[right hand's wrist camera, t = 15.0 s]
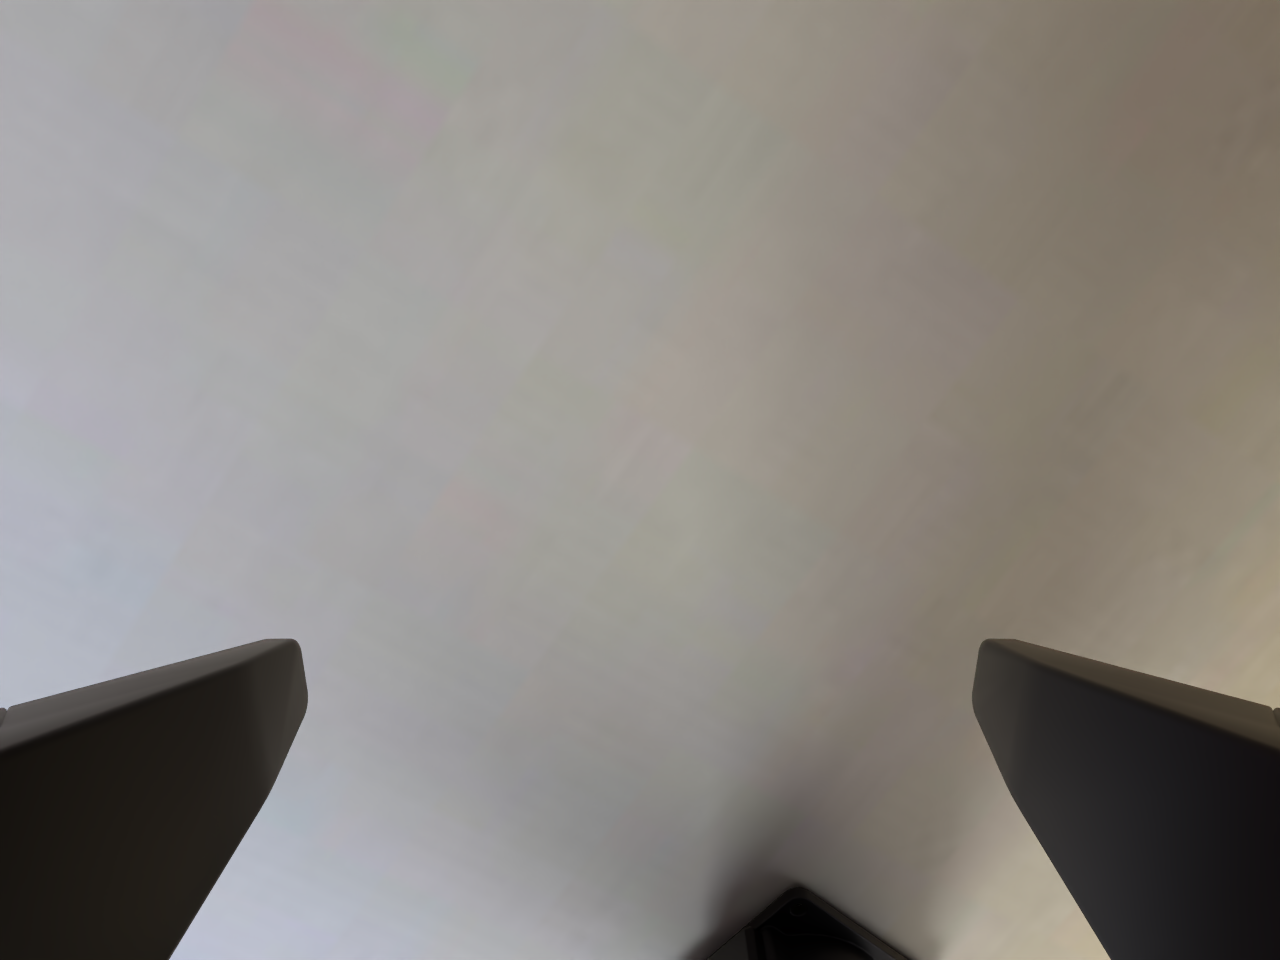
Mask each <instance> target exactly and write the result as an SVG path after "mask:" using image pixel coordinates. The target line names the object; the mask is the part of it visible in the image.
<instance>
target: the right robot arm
mask: <svg viewBox="0 0 1280 960" xmlns="http://www.w3.org/2000/svg"><path fill="white" fill-rule="evenodd" d="M307 703H308V692H307V685H306V678H305V672H304V665H303V659H302V652H301V648H300V646H299V644H298V642H297V641H296V640H294V639H264V640H260V641H257V642H253V643H249V644H245V645H241V646H238V647H234V648H230V649H226V650H222V651H219V652H215V653H211V654H207V655H204V656H200V657H196V658H192V659H188V660H185V661H181V662H177V663H173V664H169V665H166V666H162V667H158V668H154V669H151V670H147V671H143V672H139V673H135V674H132V675H128V676H124V677H120V678H116V679H113V680H109V681H105V682H101V683H98V684H94V685H90V686H86V687H82V688H79V689H75V690H71V691H67V692H63V693H60V694H56V695H52V696H48V697H45V698H41V699H37V700H33V701H29V702H26V703H22V704H18V705H14V706H11V707H9V708H8V710H6V709H5V708H0V960H169V959H170V957H171V955H172V954H173V952H174V951H175V949H176V947H177V946H178V944H179V942H180V941H181V939H182V937H183V936H184V934H185V932H186V931H187V929H188V927H189V926H190V924H191V923H192V921H193V919H194V918H195V916H196V914H197V913H198V911H199V909H200V908H201V906H202V904H203V903H204V901H205V900H206V898H207V896H208V895H209V893H210V891H211V890H212V888H213V886H214V885H215V883H216V881H217V880H218V878H219V877H220V875H221V873H222V872H223V870H224V868H225V867H226V865H227V863H228V862H229V860H230V858H231V857H232V855H233V854H234V852H235V850H236V849H237V847H238V845H239V844H240V842H241V840H242V839H243V837H244V835H245V834H246V832H247V831H248V829H249V827H250V826H251V824H252V822H253V821H254V819H255V817H256V816H257V814H258V812H259V811H260V809H261V807H262V806H263V804H264V802H265V800H266V799H267V797H268V795H269V793H270V791H271V789H272V787H273V785H274V783H275V781H276V779H277V776H278V774H279V772H280V770H281V767H282V765H283V763H284V761H285V758H286V756H287V754H288V752H289V749H290V747H291V745H292V743H293V740H294V738H295V736H296V734H297V731H298V729H299V727H300V725H301V722H302V720H303V718H304V716H305V713H306V709H307ZM972 703H973V709H974V713H975V716H976V718H977V720H978V722H979V725H980V727H981V729H982V731H983V734H984V736H985V738H986V740H987V743H988V745H989V747H990V749H991V752H992V754H993V756H994V758H995V761H996V763H997V765H998V767H999V770H1000V772H1001V774H1002V776H1003V779H1004V781H1005V783H1006V785H1007V787H1008V789H1009V791H1010V793H1011V795H1012V797H1013V799H1014V800H1015V802H1016V804H1017V806H1018V807H1019V809H1020V811H1021V812H1022V814H1023V816H1024V817H1025V819H1026V821H1027V822H1028V824H1029V826H1030V827H1031V829H1032V831H1033V832H1034V834H1035V835H1036V837H1037V839H1038V840H1039V842H1040V844H1041V845H1042V847H1043V849H1044V850H1045V852H1046V854H1047V855H1048V857H1049V858H1050V860H1051V862H1052V863H1053V865H1054V867H1055V868H1056V870H1057V872H1058V873H1059V875H1060V877H1061V878H1062V880H1063V881H1064V883H1065V885H1066V886H1067V888H1068V890H1069V891H1070V893H1071V895H1072V896H1073V898H1074V900H1075V901H1076V903H1077V904H1078V906H1079V908H1080V909H1081V911H1082V913H1083V914H1084V916H1085V918H1086V919H1087V921H1088V923H1089V924H1090V926H1091V927H1092V929H1093V931H1094V932H1095V934H1096V936H1097V937H1098V939H1099V941H1100V942H1101V944H1102V946H1103V947H1104V949H1105V950H1106V952H1107V954H1108V955H1109V957H1110V959H1111V960H1280V708H1275V709H1274V710H1272V708H1271V707H1269V706H1266V705H1262V704H1258V703H1254V702H1251V701H1247V700H1243V699H1239V698H1236V697H1232V696H1228V695H1224V694H1220V693H1217V692H1213V691H1209V690H1205V689H1201V688H1198V687H1194V686H1190V685H1186V684H1183V683H1179V682H1175V681H1171V680H1167V679H1164V678H1160V677H1156V676H1152V675H1148V674H1145V673H1141V672H1137V671H1133V670H1129V669H1126V668H1122V667H1118V666H1114V665H1111V664H1107V663H1103V662H1099V661H1095V660H1092V659H1088V658H1084V657H1080V656H1076V655H1073V654H1069V653H1065V652H1061V651H1058V650H1054V649H1050V648H1046V647H1042V646H1039V645H1035V644H1031V643H1027V642H1023V641H1020V640H1016V639H986V640H984V641H983V642H982V644H981V646H980V648H979V652H978V659H977V665H976V672H975V678H974V685H973V692H972ZM799 903H801V905H797V906H795V904H799ZM707 960H907V959H906V958H905V957H903V956H902V955H900V954H899V953H897V952H896V951H895V950H893V949H892V948H890V947H889V946H887V945H886V944H884V943H883V942H882V941H880V940H879V939H877V938H876V937H874V936H873V935H871V934H870V933H869V932H867V931H866V930H864V929H863V928H861V927H860V926H858V925H857V924H856V923H854V922H853V921H851V920H850V919H848V918H847V917H845V916H844V915H843V914H841V913H840V912H838V911H837V910H835V909H834V908H832V907H831V906H830V905H828V904H827V903H825V902H824V901H822V900H821V899H820V898H818V897H817V896H815V895H814V894H812V893H811V892H809V891H808V890H806V889H804V888H792V889H790V890H788V891H786V892H785V893H784V894H782V895H781V896H780V897H779V898H778V899H777V900H776V901H774V902H773V903H772V904H771V905H770V906H769V907H767V908H766V909H765V910H764V911H763V912H762V913H760V914H759V915H758V916H757V917H756V918H755V919H753V920H752V921H751V922H750V923H749V924H748V925H746V926H745V927H744V928H743V929H742V930H741V931H739V932H738V933H737V934H736V935H735V936H734V937H732V938H731V939H730V940H729V941H728V942H727V943H725V944H724V945H723V946H722V947H721V948H720V949H719V950H717V951H716V952H715V953H714V954H713V955H712V956H710V957H709V958H708V959H707Z"/></svg>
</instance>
